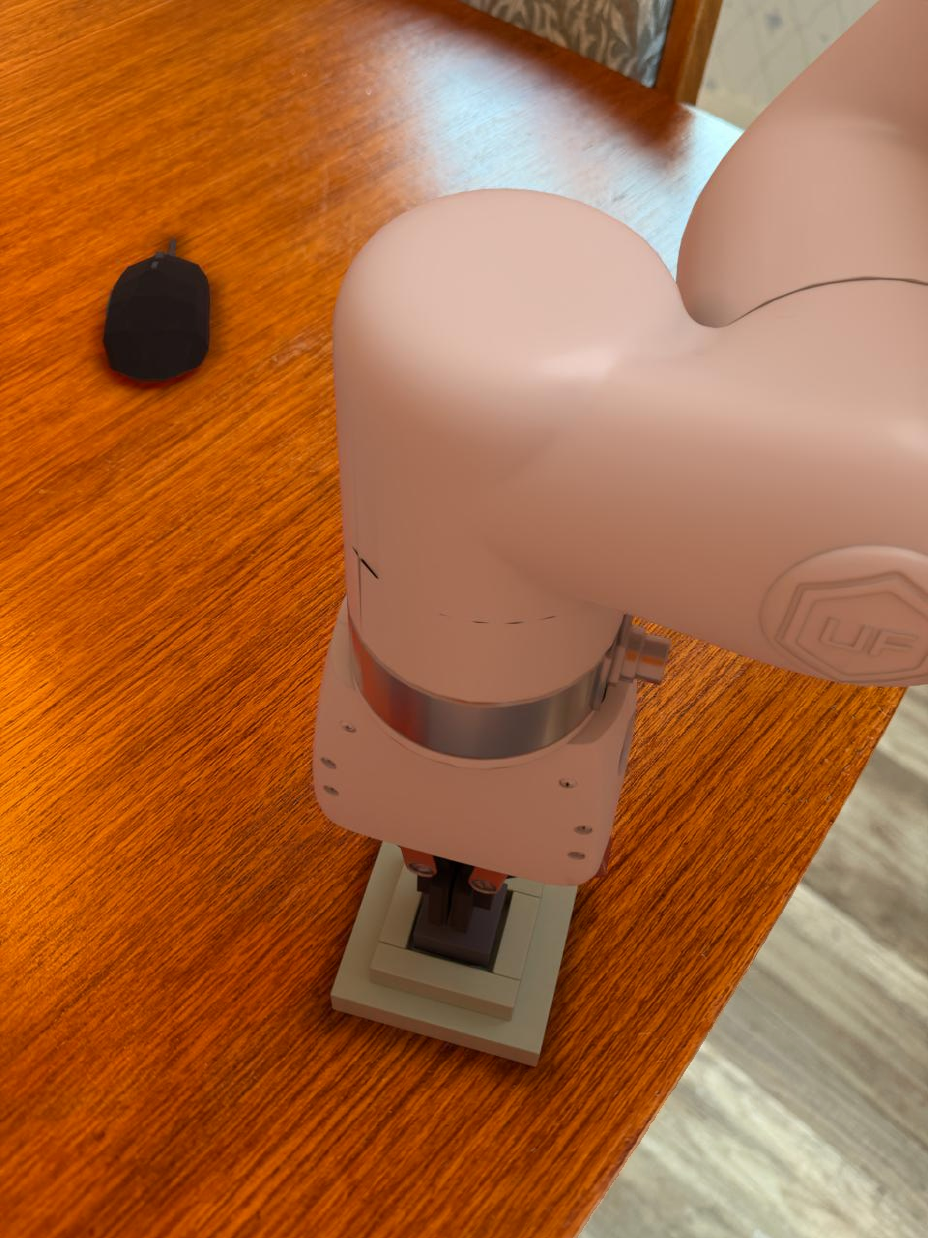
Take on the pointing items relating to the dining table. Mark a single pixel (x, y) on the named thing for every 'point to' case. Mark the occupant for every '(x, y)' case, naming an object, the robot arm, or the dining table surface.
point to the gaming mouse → (158, 318)
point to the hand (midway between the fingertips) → (457, 895)
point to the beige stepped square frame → (455, 966)
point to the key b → (458, 945)
